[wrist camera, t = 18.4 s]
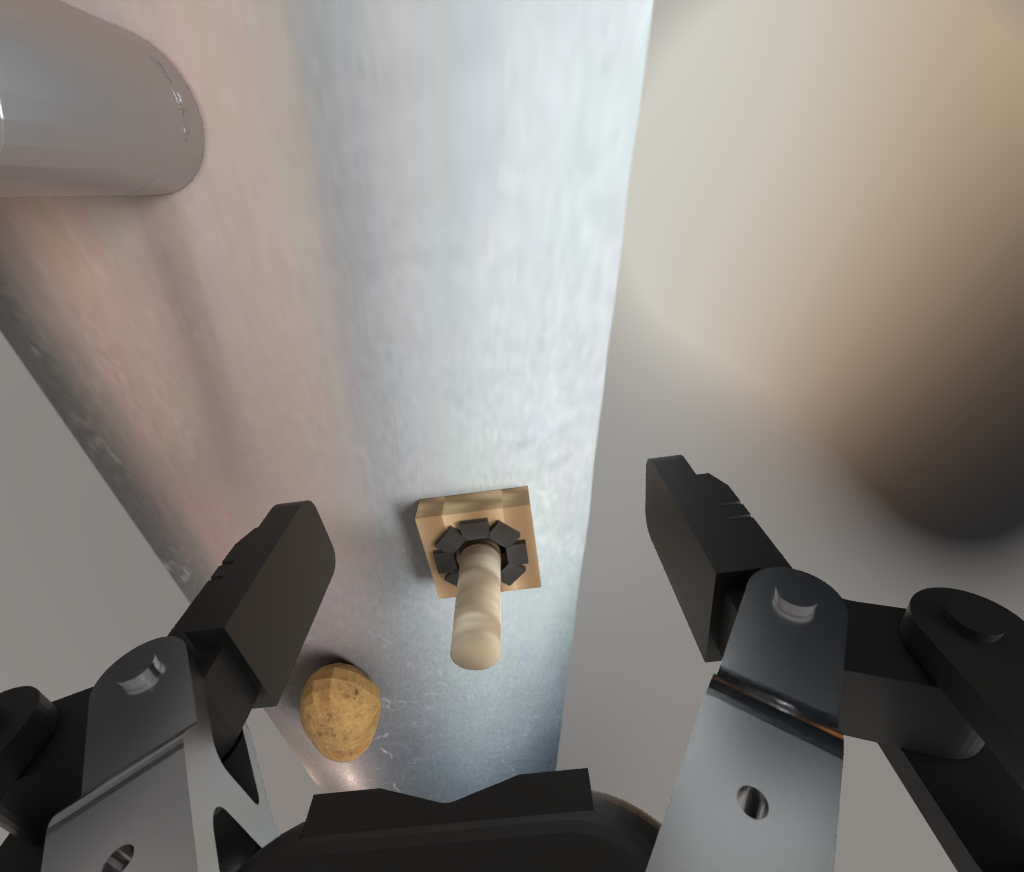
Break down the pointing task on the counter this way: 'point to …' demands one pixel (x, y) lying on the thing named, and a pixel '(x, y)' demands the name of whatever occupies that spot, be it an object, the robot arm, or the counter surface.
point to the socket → (479, 535)
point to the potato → (340, 711)
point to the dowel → (478, 606)
